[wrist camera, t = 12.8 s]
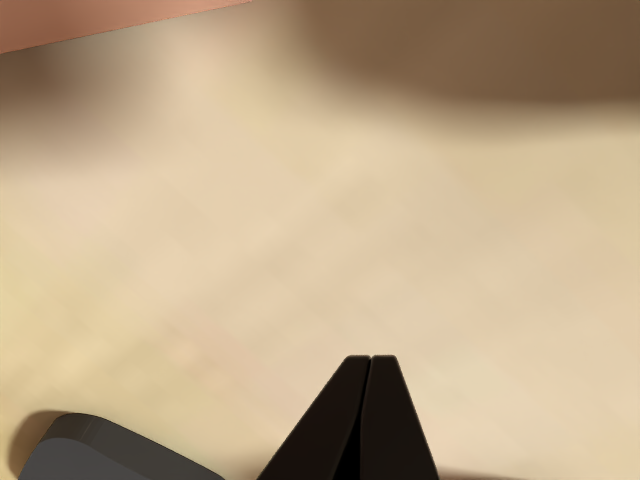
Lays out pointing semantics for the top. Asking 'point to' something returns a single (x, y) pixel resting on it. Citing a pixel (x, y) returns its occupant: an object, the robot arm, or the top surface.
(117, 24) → the terracotta domino
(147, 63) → the top surface
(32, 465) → the media streaming box
